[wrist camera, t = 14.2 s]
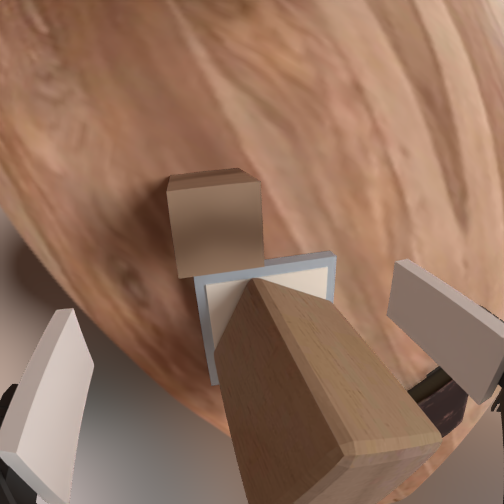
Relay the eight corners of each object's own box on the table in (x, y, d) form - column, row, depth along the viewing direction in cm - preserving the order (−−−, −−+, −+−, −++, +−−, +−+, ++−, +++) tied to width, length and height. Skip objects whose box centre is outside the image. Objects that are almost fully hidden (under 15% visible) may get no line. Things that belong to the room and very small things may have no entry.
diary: (391, 450, 57) (400, 465, 53) (382, 399, 47) (396, 419, 42) (455, 407, 58) (465, 420, 53) (463, 343, 47) (479, 358, 43)
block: (209, 353, 32) (251, 535, 14) (248, 270, 29) (346, 457, 11) (290, 369, 35) (363, 516, 17) (333, 298, 33) (453, 439, 14)
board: (192, 269, 30) (193, 277, 28) (330, 250, 32) (337, 256, 31) (210, 377, 35) (211, 386, 34) (322, 355, 38) (327, 363, 36)
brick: (170, 175, 26) (166, 191, 19) (238, 167, 27) (260, 181, 20) (178, 240, 29) (178, 278, 21) (242, 232, 30) (264, 266, 22)
